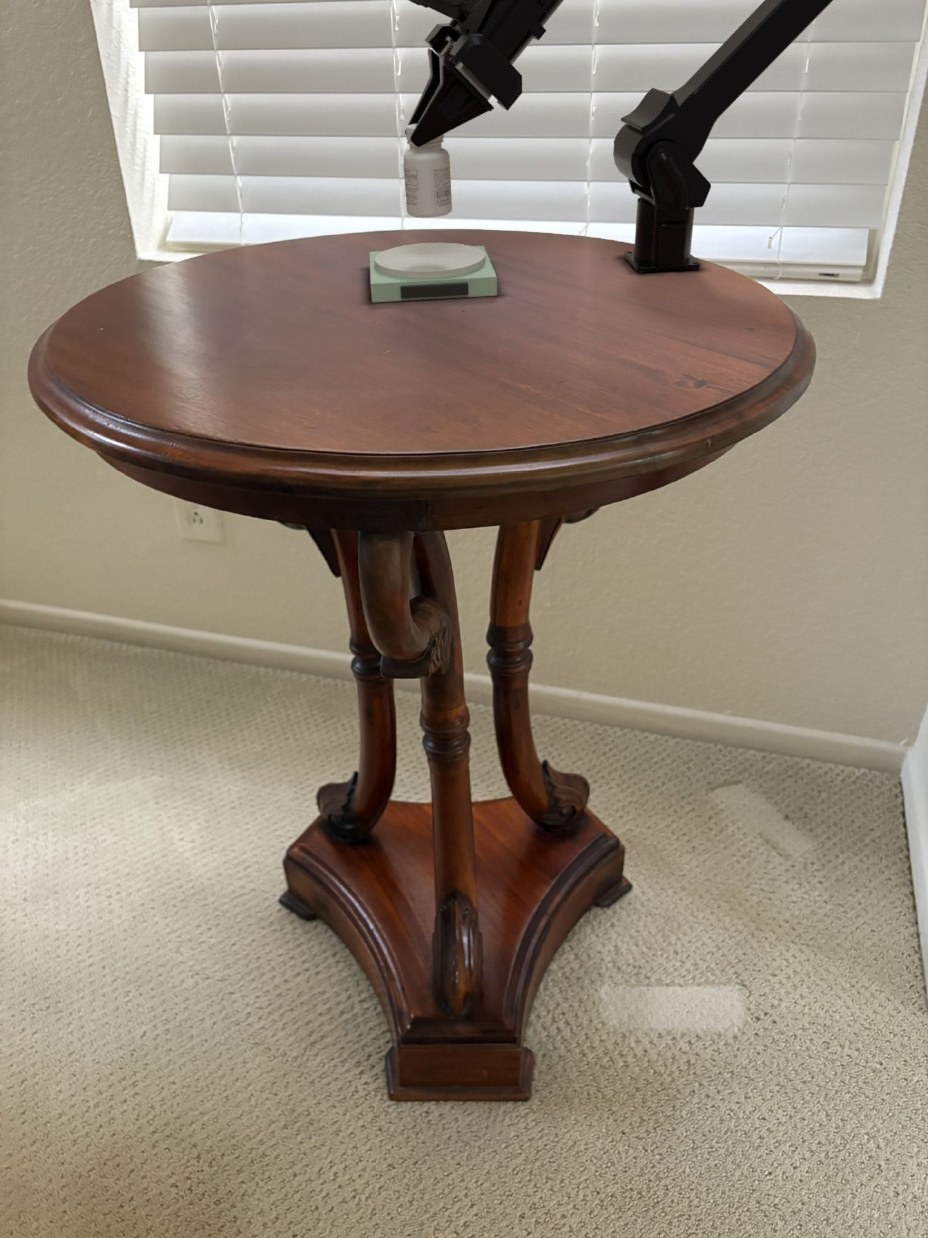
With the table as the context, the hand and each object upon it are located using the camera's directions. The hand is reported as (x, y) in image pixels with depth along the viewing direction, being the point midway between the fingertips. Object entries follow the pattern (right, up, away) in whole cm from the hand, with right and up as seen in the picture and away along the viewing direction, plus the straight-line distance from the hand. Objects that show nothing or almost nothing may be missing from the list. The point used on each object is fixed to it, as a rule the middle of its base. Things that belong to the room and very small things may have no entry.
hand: (410, 140), depth 94 cm
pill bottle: (+2, -5, +4) cm, 7 cm away
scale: (+2, -11, +7) cm, 13 cm away
